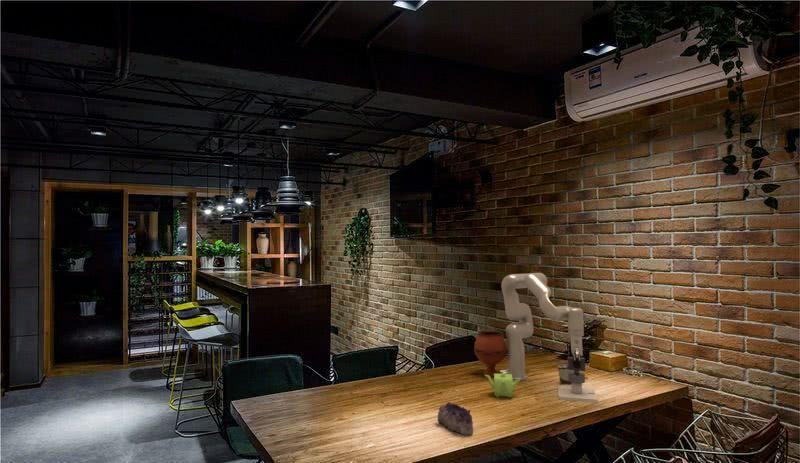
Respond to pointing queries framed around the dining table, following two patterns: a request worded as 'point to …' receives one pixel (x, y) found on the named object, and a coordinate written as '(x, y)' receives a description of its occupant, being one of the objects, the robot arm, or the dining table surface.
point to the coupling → (576, 371)
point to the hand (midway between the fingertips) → (576, 365)
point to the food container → (564, 374)
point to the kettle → (503, 384)
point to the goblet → (490, 349)
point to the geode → (456, 419)
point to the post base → (575, 397)
